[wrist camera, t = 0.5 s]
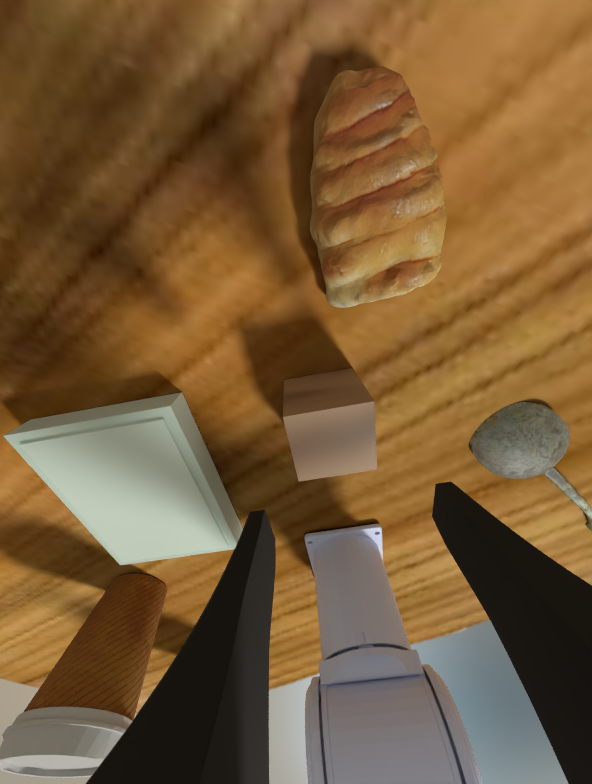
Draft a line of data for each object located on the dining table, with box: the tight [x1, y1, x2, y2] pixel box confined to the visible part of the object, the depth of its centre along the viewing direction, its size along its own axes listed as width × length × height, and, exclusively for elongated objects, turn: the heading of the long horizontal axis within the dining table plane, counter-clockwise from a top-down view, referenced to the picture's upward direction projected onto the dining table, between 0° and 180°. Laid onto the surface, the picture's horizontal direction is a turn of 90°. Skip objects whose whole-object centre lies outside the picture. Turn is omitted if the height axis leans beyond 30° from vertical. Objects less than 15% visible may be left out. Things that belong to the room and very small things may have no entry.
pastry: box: [310, 67, 447, 307], centre depth 12 cm, size 9×7×4 cm
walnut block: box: [283, 368, 377, 482], centre depth 17 cm, size 5×5×5 cm
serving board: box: [4, 392, 243, 565], centre depth 21 cm, size 16×12×2 cm
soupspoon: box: [469, 402, 592, 531], centre depth 23 cm, size 22×3×7 cm
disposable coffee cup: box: [0, 574, 167, 778], centre depth 24 cm, size 10×10×12 cm
